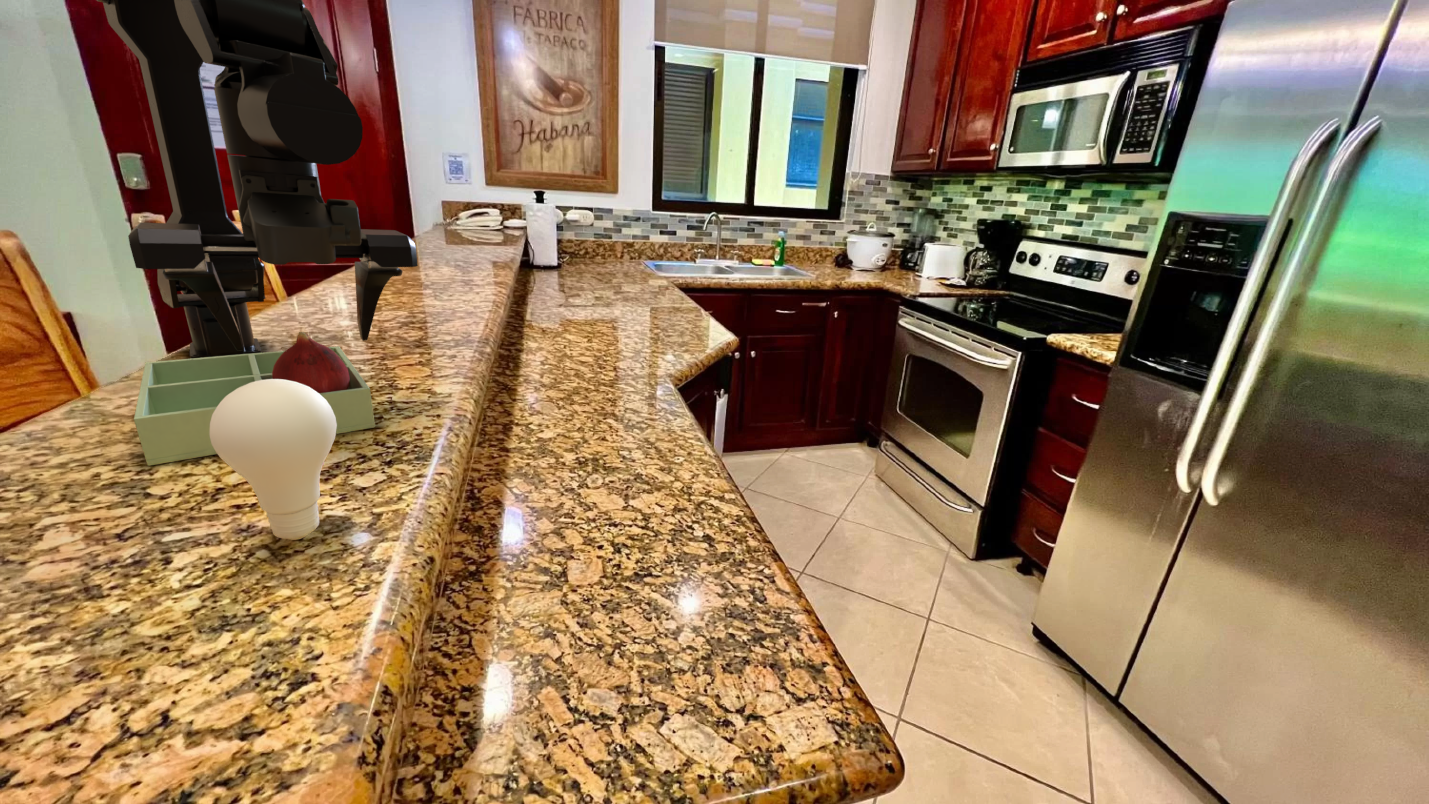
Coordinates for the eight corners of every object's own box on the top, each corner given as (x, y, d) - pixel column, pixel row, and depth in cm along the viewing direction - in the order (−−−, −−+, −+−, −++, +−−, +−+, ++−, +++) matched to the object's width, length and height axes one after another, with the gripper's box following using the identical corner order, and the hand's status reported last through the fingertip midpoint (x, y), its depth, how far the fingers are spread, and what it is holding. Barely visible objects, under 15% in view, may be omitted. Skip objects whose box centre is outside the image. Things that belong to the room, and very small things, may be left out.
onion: (367, 407, 55) (357, 329, 52) (323, 429, 50) (308, 344, 47) (313, 400, 56) (300, 322, 53) (263, 421, 50) (245, 336, 47)
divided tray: (156, 401, 53) (145, 362, 52) (344, 379, 63) (339, 345, 62) (147, 466, 43) (133, 419, 41) (375, 427, 53) (370, 388, 51)
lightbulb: (223, 573, 33) (178, 403, 29) (255, 518, 38) (220, 367, 34) (344, 556, 35) (317, 396, 31) (359, 506, 40) (337, 364, 37)
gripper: (91, 143, 33) (159, 386, 39) (427, 174, 45) (442, 356, 51) (110, 143, 41) (164, 346, 46) (392, 169, 53) (409, 328, 58)
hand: (305, 344), depth 50 cm, fingers open, 9 cm apart
